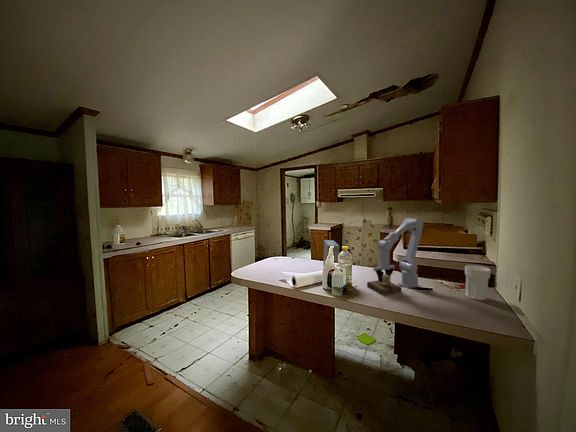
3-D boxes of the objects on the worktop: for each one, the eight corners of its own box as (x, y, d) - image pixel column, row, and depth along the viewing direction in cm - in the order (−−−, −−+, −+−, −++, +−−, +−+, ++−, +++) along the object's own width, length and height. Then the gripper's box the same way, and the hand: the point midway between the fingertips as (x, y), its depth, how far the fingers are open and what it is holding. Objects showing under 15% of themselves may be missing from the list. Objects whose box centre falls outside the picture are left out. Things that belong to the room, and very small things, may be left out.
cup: (458, 295, 135) (460, 266, 133) (470, 292, 139) (472, 264, 138) (480, 303, 124) (482, 272, 123) (493, 299, 129) (495, 269, 127)
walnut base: (384, 283, 154) (384, 279, 153) (401, 292, 140) (401, 287, 140) (367, 286, 149) (367, 282, 149) (382, 295, 136) (382, 290, 136)
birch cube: (384, 281, 147) (384, 273, 147) (390, 284, 143) (390, 276, 142) (378, 282, 146) (378, 274, 145) (383, 285, 141) (383, 277, 141)
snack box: (339, 283, 156) (340, 245, 154) (326, 283, 156) (327, 245, 154) (334, 272, 177) (334, 239, 175) (322, 272, 178) (322, 239, 176)
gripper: (379, 262, 137) (378, 284, 138) (398, 260, 142) (397, 281, 143) (371, 259, 144) (370, 280, 145) (390, 257, 148) (389, 277, 149)
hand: (383, 280), depth 144 cm, fingers closed on birch cube, 5 cm apart
